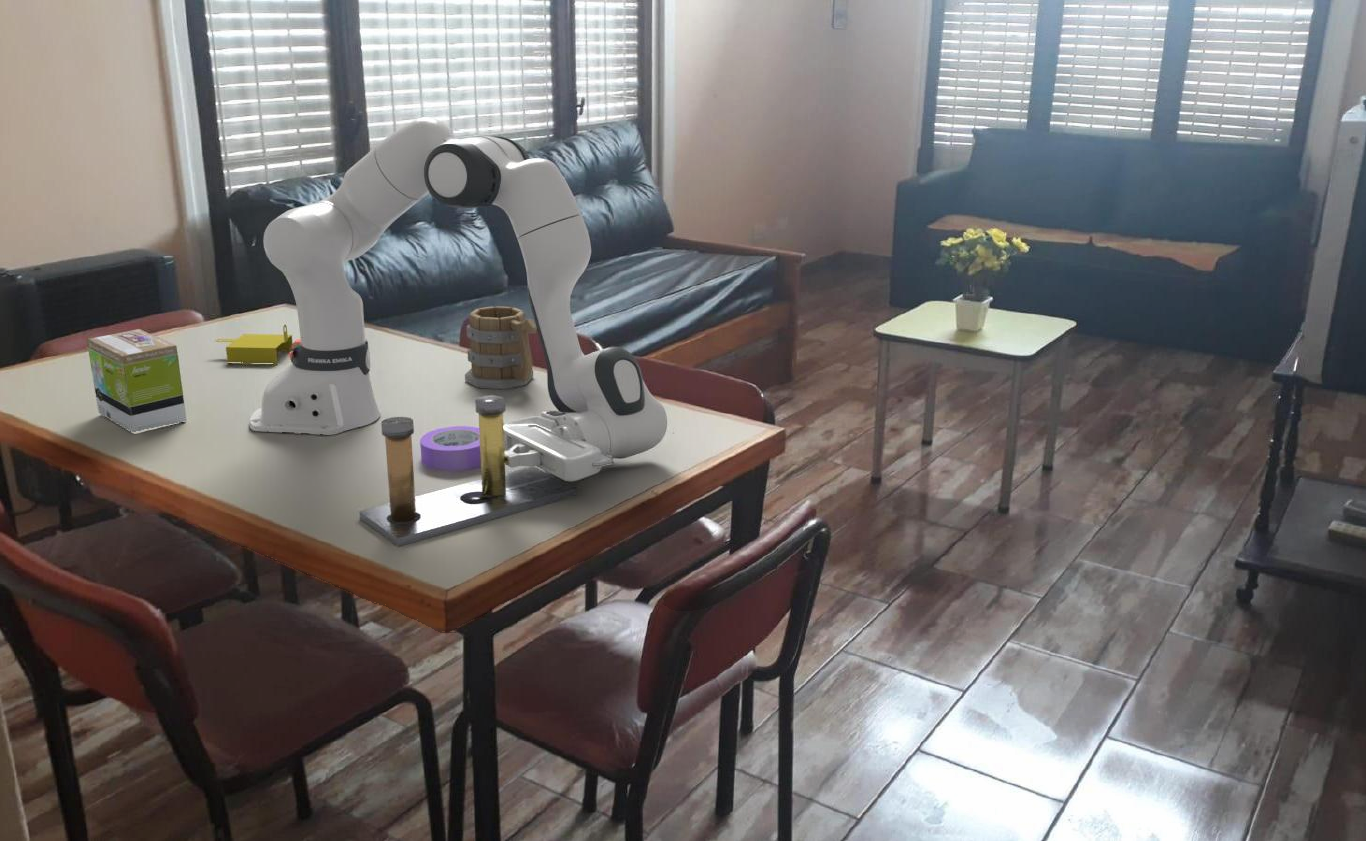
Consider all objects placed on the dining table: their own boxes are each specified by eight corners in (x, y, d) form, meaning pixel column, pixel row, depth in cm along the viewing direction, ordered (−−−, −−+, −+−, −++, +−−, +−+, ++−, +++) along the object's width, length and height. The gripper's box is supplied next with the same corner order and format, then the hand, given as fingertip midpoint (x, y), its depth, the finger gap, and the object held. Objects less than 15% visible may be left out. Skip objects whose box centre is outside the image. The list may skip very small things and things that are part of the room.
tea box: (96, 416, 217) (84, 337, 212) (151, 403, 224) (140, 327, 219) (132, 436, 208) (121, 353, 203) (189, 422, 215) (178, 342, 210)
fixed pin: (396, 525, 170) (390, 429, 166) (382, 516, 174) (375, 420, 169) (424, 518, 173) (418, 422, 168) (410, 508, 176) (404, 414, 172)
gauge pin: (488, 499, 180) (485, 406, 175) (473, 490, 183) (469, 399, 178) (514, 492, 182) (510, 400, 177) (498, 483, 185) (495, 393, 181)
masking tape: (429, 475, 193) (428, 453, 191) (414, 452, 203) (413, 430, 202) (500, 466, 197) (499, 444, 196) (482, 443, 207) (481, 422, 206)
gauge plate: (398, 546, 167) (397, 538, 167) (360, 518, 176) (359, 510, 175) (575, 495, 185) (575, 487, 185) (533, 472, 194) (532, 465, 194)
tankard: (456, 377, 243) (453, 305, 238) (511, 367, 250) (509, 297, 245) (504, 403, 228) (501, 326, 223) (561, 391, 235) (560, 317, 230)
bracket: (226, 314, 259) (296, 315, 259) (230, 349, 262) (299, 350, 262) (199, 333, 245) (272, 334, 244) (203, 369, 247) (276, 370, 247)
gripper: (619, 479, 184) (543, 500, 175) (544, 443, 199) (471, 461, 190) (619, 440, 182) (542, 460, 173) (543, 406, 197) (469, 423, 188)
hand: (504, 460), depth 182 cm, fingers closed
